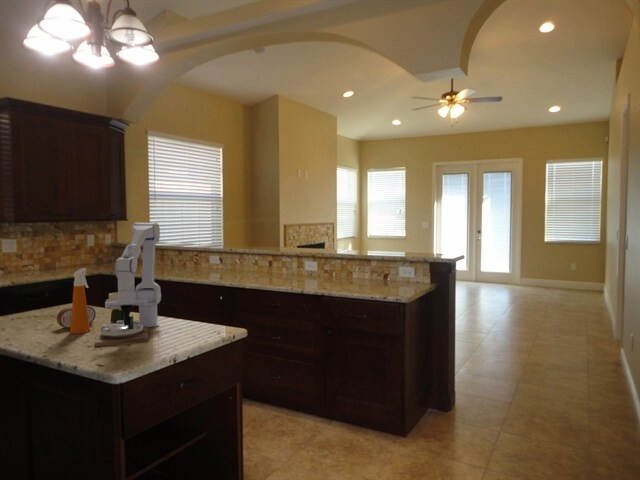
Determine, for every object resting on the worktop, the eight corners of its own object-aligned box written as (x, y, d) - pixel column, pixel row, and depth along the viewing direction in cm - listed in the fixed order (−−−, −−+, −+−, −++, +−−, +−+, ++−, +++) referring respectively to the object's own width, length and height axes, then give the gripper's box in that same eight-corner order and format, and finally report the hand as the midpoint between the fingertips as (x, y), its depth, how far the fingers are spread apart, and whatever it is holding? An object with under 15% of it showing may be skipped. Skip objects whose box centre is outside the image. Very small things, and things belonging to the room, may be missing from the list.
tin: (93, 322, 200) (93, 303, 199) (96, 323, 198) (96, 304, 197) (56, 329, 188) (56, 309, 188) (59, 330, 186) (59, 310, 186)
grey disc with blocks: (92, 334, 173) (91, 316, 173) (126, 326, 186) (126, 308, 186) (117, 340, 166) (117, 321, 165) (151, 331, 179) (151, 313, 178)
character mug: (111, 326, 192) (111, 296, 191) (101, 324, 196) (101, 294, 195) (134, 321, 201) (133, 292, 200) (124, 319, 205) (123, 290, 204)
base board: (98, 333, 181) (98, 329, 181) (146, 329, 188) (146, 325, 188) (95, 346, 165) (95, 342, 164) (148, 341, 171) (148, 336, 171)
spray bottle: (79, 336, 177) (77, 269, 175) (67, 331, 184) (65, 267, 182) (98, 332, 183) (96, 267, 181) (85, 328, 189) (83, 265, 188)
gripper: (106, 292, 164) (106, 329, 165) (148, 289, 171) (148, 325, 172) (104, 289, 170) (104, 325, 171) (145, 286, 177) (145, 321, 178)
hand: (126, 324), depth 172 cm, fingers closed, pressing on grey disc with blocks
